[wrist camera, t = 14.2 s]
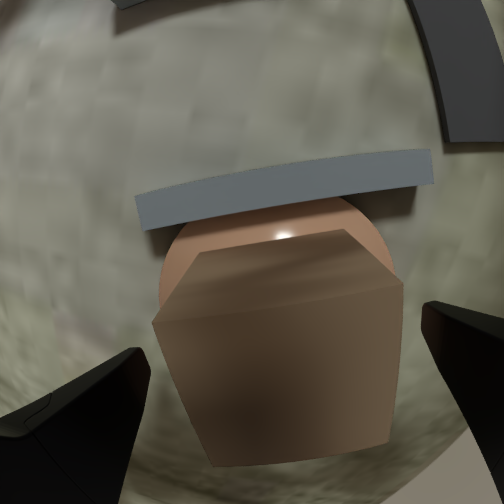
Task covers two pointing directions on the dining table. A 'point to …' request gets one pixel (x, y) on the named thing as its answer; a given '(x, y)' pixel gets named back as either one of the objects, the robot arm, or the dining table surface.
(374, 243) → the terracotta coaster
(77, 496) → the robot arm
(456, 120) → the pad
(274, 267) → the walnut block
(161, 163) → the dining table surface
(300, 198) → the grey parallel rails
